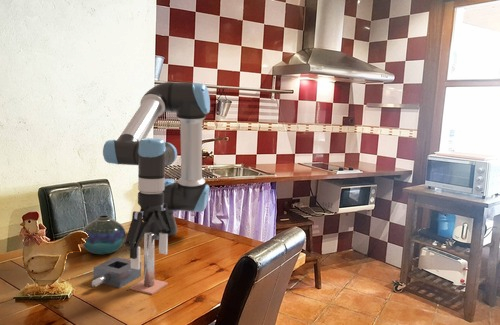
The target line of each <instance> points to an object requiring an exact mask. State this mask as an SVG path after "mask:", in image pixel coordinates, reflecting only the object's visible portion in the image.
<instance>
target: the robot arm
mask: <svg viewBox="0 0 500 325" xmlns="http://www.w3.org/2000/svg"><path fill="white" fill-rule="evenodd" d="M139 103H140V104H139V105H140V106H139V107H138V108H137V110H136V111H135V113H134V115H133V116H132V117H131V119H130V120H129V122H128V123H127V124H126V126H125V128H124V129H123V131H122V132H121V134H120V136H119V137H118V139H116V140H115V139H109V140H106V141H105V143H104V145H103V147H102V156H103V159H104V161H105V162H106V163H108V164H113V165H114V164H115V165H122V166H123V165H124V166H127V165H128V166H138V169H137V170H138V183H137V184H138V186H137V189H138V193H137V204H138V206H140V209H139V211H132V215H131V216H132V218H131V222H130V225H129V229H128V232H127V235H126V236H125V240H124V243H123V244H124V247H128V248H129V257H130V260H131V268H133V269H137V270H139V269H140V262H141V246H139V245H140V243H141V242H142V241H141V240H142V239H143V235H144V233H145V232H146V233H148V232H152V233H154V234H157V235H160V239H158V254H162V255H168V247H169V246H168V243H169V242H168V241H169V237H172V236H175V235H176V234H177V233H178V225H177V223H176V218H175V215H174V212H175V211H178V212H179V211H180V212H181V211H182V212H193V213H196V212H197V213H199V212H200V213H201V212H204V211H205V210H206V207H207V204H208V201H209V197H210V196H209V195H210V185H209V184H206V179H205V178H204V177H203V147H202V146H203V130H202V129H203V121H204V120H205V119H206V117H207V116H206V115H208V114H210V111H211V99H210V93H209V90H208V87H207V85H205V84H203V83H198V82H181V81H180V82H179V81H175V82H174V81H165V82H162V83H159V84H157V85H155V86H153V87H151V88H150V89H149V90H148V91H146V92H145V94H144V95H143V96H142V97H141V99H140V102H139ZM165 112H172V113H175V114H176V119H177V120H179V121H180V170H181V171H180V173H181V175H180V176H181V177H180V178H178V179H177V182H175V179H174V178H165V177H166V176H165V175H166V174H165V173H166V172H165V171H166V167H168V166H171V165H172V164H173V163H174V162H175V161H176V160H177V158H178V150H177V148H176V147H175V145H173V144H172V143H171V142H167V141H165V140H164V139H161V138H153V137H152V138H149V137H148V135H149V133H150V132H151V129H152V128H153V127H154V125H155V122H156V121H157V120H158V118H159V117H160V116H162V115H163V114H164V113H165ZM147 137H148V138H147Z"/></svg>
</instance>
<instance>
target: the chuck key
mask: <svg viewBox="0 0 500 325" xmlns="http://www.w3.org/2000/svg"><path fill="white" fill-rule="evenodd" d="M142 239H143V250H144V251H143V259H144V260H143V279H144V286H145V287H152V286H154V279H155V241H159V239H160V235H157V234H154V233H152V232H148V233H146V232H145V233H144V235H143V237H142Z"/></svg>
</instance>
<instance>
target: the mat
mask: <svg viewBox="0 0 500 325" xmlns="http://www.w3.org/2000/svg"><path fill="white" fill-rule="evenodd" d="M168 284H169V283H168V281H163V280H159V279H155V278H154V286H152V287H145V286H144V278H143V279H142V280H140V281H137V283H135V284H133V285H132V286H130V287H129V289H130V290H131V291H132V290H133V291H136V292H140V293H143V294H147V295H151V296H152V295H155V294H156V293H158V291H161V290H162V289H163V288H165V287H166V286H168Z"/></svg>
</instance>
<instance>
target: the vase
mask: <svg viewBox="0 0 500 325" xmlns="http://www.w3.org/2000/svg"><path fill="white" fill-rule="evenodd" d="M82 231H84V232H86V233H87V234H88V236H89V237H88V238H87V239H85V241H86V243H85V244H82V246H83V247H84V249H85V250H86V251H87V252H89V253H91V254H93V255H102V256H103V255H108V254H112V253H114V252H116V251H118V250H119V249H120V248H121V247H122V245H123V244H124V243H125V241H126V231H125V228H124V226H123V225H122V224H121V223H119V222H118V221H116V220H114V219H112V218H110V216H109V215H107V214H103V215H102V214H101V215H98V216H97V219H94V220H93V221H90V222H89V223H87V224H86V225H85V226H84V228H82Z"/></svg>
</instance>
